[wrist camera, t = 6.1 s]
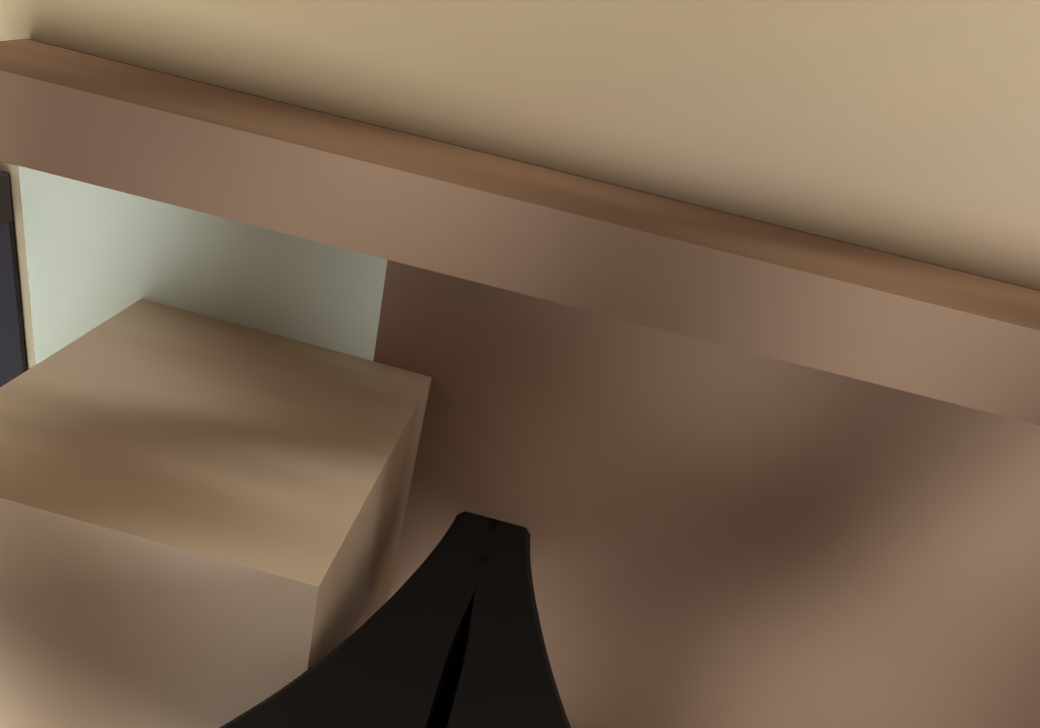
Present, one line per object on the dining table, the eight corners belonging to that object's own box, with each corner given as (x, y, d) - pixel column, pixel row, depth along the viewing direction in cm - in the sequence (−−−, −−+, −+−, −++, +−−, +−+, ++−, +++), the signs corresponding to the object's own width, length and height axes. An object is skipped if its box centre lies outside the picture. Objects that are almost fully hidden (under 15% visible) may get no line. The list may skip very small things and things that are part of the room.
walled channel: (1363, 371, 11) (1499, 446, 9) (957, 869, 17) (995, 974, 15) (26, 38, 12) (-84, 49, 10) (71, 626, 17) (6, 700, 16)
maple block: (432, 376, 13) (318, 587, 8) (388, 598, 15) (281, 855, 11) (141, 298, 13) (-122, 464, 9) (142, 529, 15) (-66, 755, 11)
